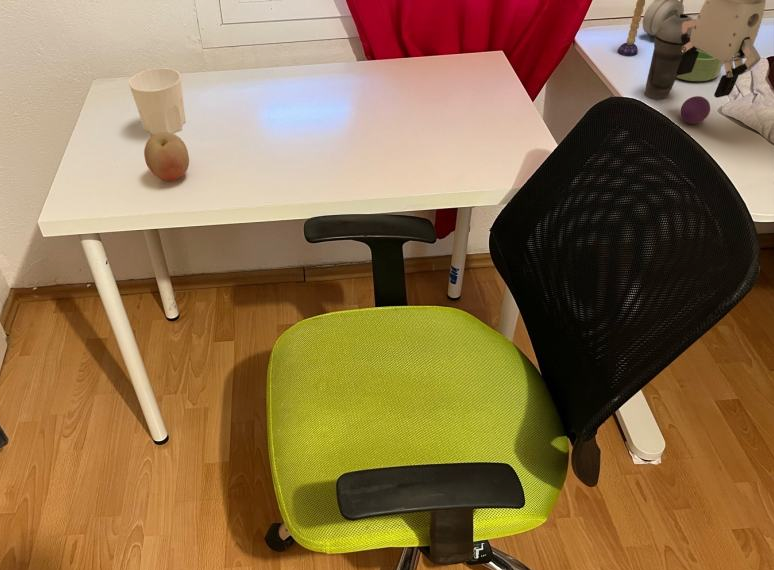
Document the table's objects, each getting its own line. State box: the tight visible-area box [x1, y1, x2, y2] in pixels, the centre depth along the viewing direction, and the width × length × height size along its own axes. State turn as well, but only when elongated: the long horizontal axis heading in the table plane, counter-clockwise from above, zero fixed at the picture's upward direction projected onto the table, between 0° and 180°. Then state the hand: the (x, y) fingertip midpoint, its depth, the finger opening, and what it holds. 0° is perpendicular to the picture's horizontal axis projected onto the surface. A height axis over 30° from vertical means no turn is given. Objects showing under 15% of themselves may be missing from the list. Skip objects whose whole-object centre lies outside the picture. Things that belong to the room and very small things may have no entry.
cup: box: [128, 67, 187, 136], centre depth 137 cm, size 10×10×10 cm
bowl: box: [676, 49, 724, 82], centre depth 144 cm, size 11×11×5 cm
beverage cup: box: [644, 0, 694, 100], centre depth 133 cm, size 7×7×20 cm
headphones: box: [642, 0, 685, 36], centre depth 147 cm, size 20×8×19 cm, turn 28°
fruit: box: [143, 132, 190, 182], centre depth 124 cm, size 8×8×8 cm
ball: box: [679, 95, 711, 125], centre depth 130 cm, size 5×5×5 cm
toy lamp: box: [617, 0, 646, 57], centre depth 148 cm, size 5×5×17 cm
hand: (702, 84), depth 127 cm, fingers open, 9 cm apart
